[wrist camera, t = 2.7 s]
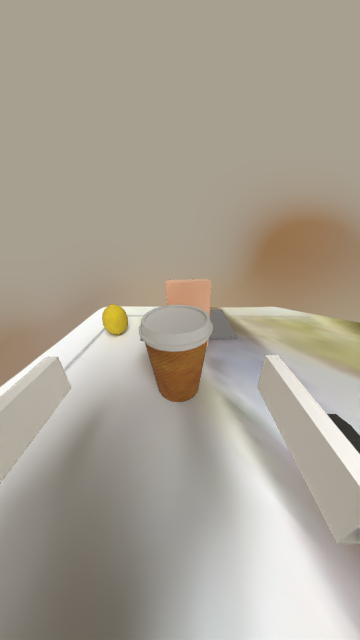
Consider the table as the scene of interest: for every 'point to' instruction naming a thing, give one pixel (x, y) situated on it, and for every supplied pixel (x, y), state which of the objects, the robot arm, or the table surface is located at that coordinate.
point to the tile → (189, 293)
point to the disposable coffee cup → (176, 348)
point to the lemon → (115, 319)
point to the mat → (220, 326)
